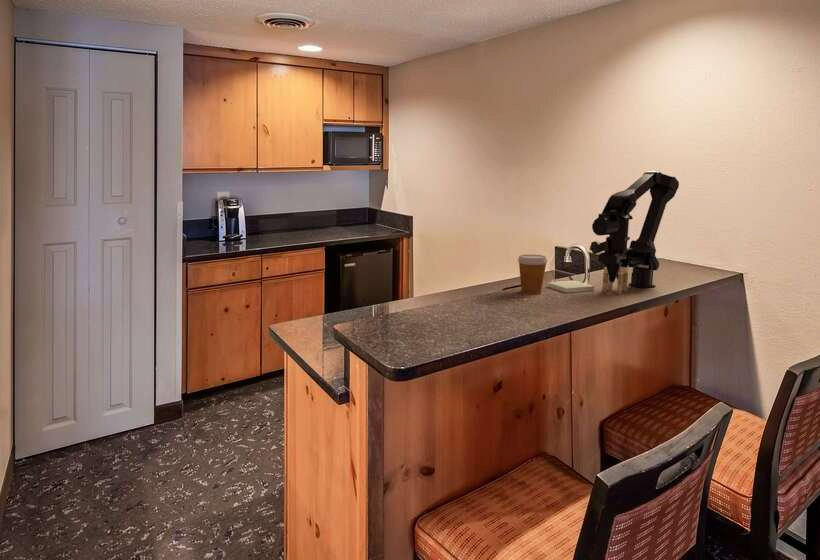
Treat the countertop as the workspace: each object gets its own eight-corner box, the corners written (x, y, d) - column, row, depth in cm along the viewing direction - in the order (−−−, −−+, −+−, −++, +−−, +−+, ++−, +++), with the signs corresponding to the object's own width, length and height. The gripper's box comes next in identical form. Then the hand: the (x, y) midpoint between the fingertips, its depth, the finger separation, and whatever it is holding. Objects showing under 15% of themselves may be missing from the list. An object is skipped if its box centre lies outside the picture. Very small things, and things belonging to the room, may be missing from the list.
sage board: (573, 284, 199) (573, 280, 199) (594, 290, 189) (594, 286, 189) (547, 286, 196) (547, 282, 195) (566, 292, 185) (566, 288, 185)
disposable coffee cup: (544, 289, 190) (545, 254, 188) (548, 295, 181) (549, 258, 179) (515, 289, 191) (516, 254, 189) (517, 295, 182) (519, 258, 180)
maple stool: (608, 288, 192) (610, 265, 191) (626, 291, 188) (628, 267, 187) (602, 291, 188) (603, 267, 186) (620, 293, 184) (622, 269, 182)
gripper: (604, 230, 197) (601, 274, 199) (583, 234, 182) (580, 282, 185) (637, 232, 190) (634, 278, 192) (617, 236, 175) (614, 286, 178)
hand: (615, 280), depth 187 cm, fingers closed on maple stool, 6 cm apart
